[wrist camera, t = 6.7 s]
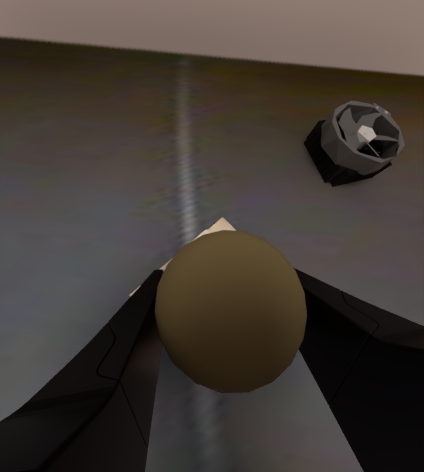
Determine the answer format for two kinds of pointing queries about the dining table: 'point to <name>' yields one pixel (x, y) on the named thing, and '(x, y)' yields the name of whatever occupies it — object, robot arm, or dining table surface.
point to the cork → (230, 311)
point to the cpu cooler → (354, 143)
